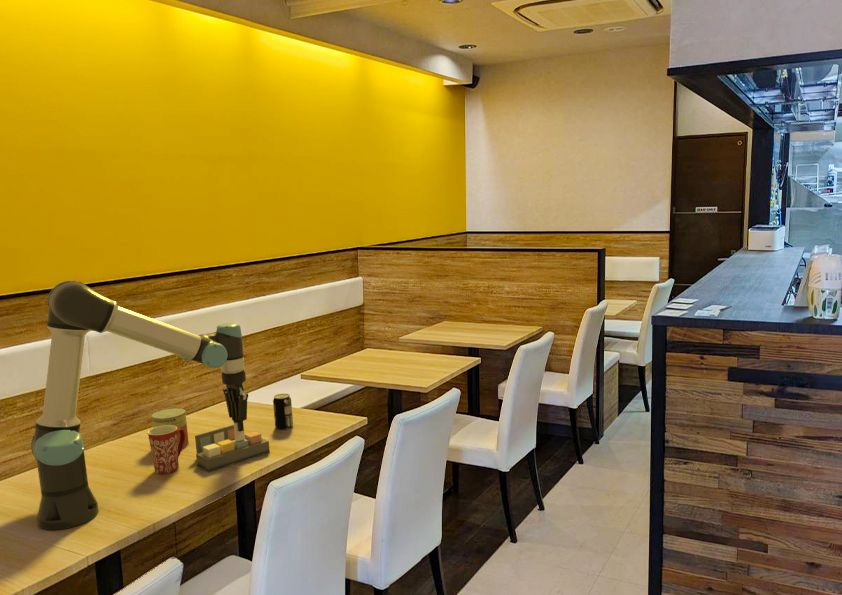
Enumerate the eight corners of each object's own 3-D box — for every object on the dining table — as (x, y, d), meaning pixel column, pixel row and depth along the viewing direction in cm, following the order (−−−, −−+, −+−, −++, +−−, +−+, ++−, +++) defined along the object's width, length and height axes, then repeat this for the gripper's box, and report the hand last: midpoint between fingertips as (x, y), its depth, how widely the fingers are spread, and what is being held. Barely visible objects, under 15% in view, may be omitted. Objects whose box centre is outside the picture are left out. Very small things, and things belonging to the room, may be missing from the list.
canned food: (148, 451, 246) (145, 418, 244) (165, 440, 257) (162, 408, 255) (178, 452, 244) (175, 418, 242) (194, 440, 255) (191, 408, 253)
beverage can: (274, 425, 267) (271, 394, 265) (292, 423, 269) (289, 392, 267) (276, 431, 261) (273, 399, 259) (294, 428, 263) (291, 397, 261)
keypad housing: (208, 472, 225) (207, 460, 224) (197, 465, 231) (196, 454, 230) (269, 452, 239) (268, 441, 239) (257, 446, 245) (256, 435, 244)
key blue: (237, 453, 233) (237, 443, 233) (232, 450, 236) (231, 440, 236) (248, 450, 236) (247, 440, 236) (242, 447, 239) (242, 437, 238)
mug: (164, 477, 222) (159, 436, 220) (145, 472, 227) (141, 432, 225) (196, 463, 233) (192, 423, 231) (177, 459, 238) (173, 420, 235)
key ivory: (209, 460, 227) (208, 449, 226) (203, 457, 230) (202, 446, 229) (220, 456, 229) (219, 446, 229) (215, 453, 232) (214, 443, 232)
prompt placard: (198, 459, 236) (196, 436, 235) (197, 458, 237) (194, 435, 236) (241, 445, 247) (239, 423, 246) (240, 445, 248) (238, 423, 247)
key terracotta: (251, 447, 237) (250, 437, 236) (245, 444, 240) (244, 434, 239) (261, 443, 239) (261, 433, 239) (255, 441, 242) (255, 431, 242)
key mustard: (223, 455, 230) (222, 445, 229) (217, 452, 233) (216, 442, 232) (234, 452, 233) (234, 442, 232) (229, 449, 236) (228, 439, 235)
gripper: (253, 371, 230) (260, 440, 233) (233, 365, 239) (240, 432, 243) (232, 376, 225) (239, 447, 228) (213, 370, 234) (220, 438, 238)
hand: (240, 439), depth 236 cm, fingers closed
